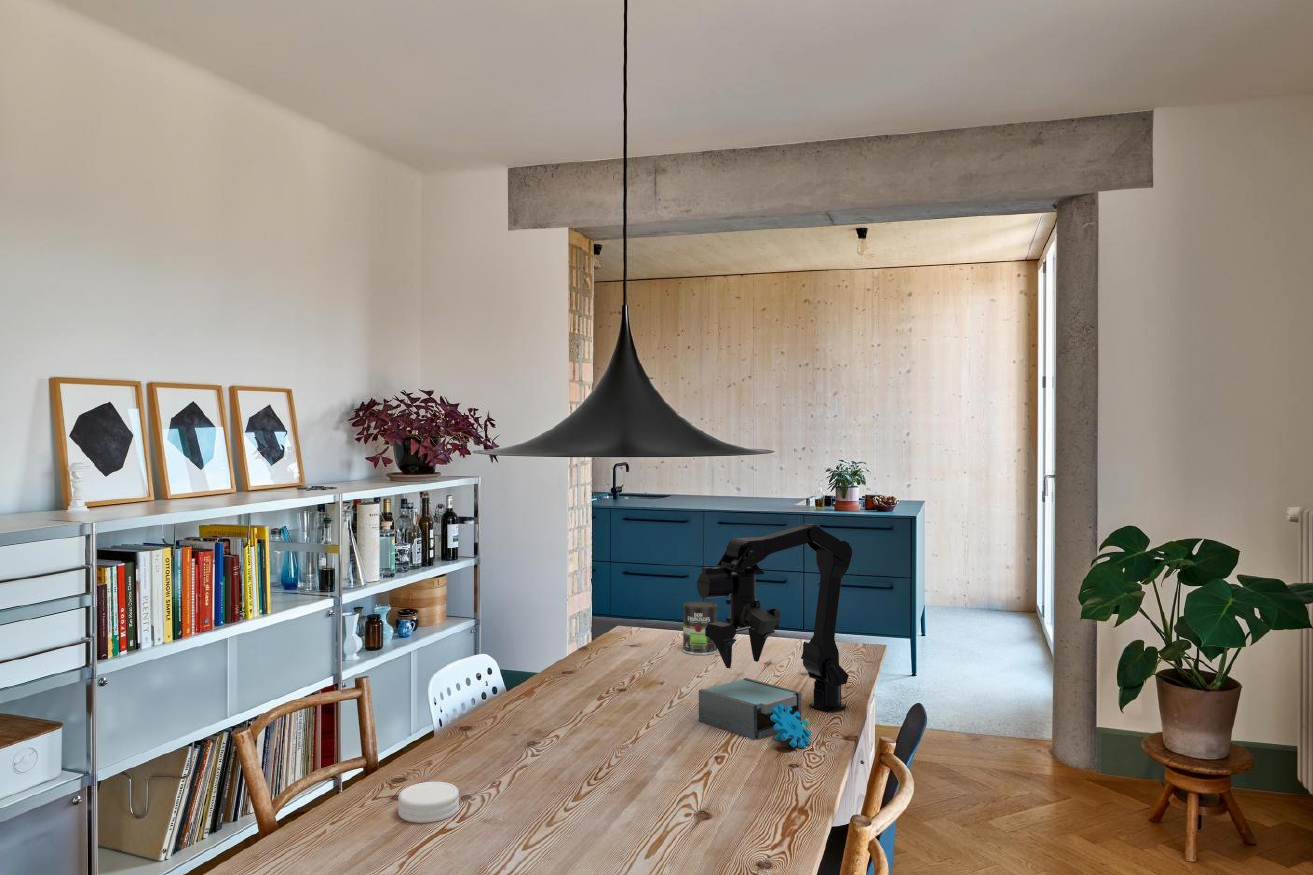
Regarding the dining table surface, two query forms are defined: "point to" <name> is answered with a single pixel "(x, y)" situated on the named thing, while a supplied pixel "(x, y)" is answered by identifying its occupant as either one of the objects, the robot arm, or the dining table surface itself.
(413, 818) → the coaster
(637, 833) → the dining table surface
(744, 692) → the sliding box lid
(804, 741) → the gear
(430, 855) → the dining table surface
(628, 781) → the dining table surface
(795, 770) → the dining table surface
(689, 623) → the coffee can
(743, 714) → the grey drawer box
